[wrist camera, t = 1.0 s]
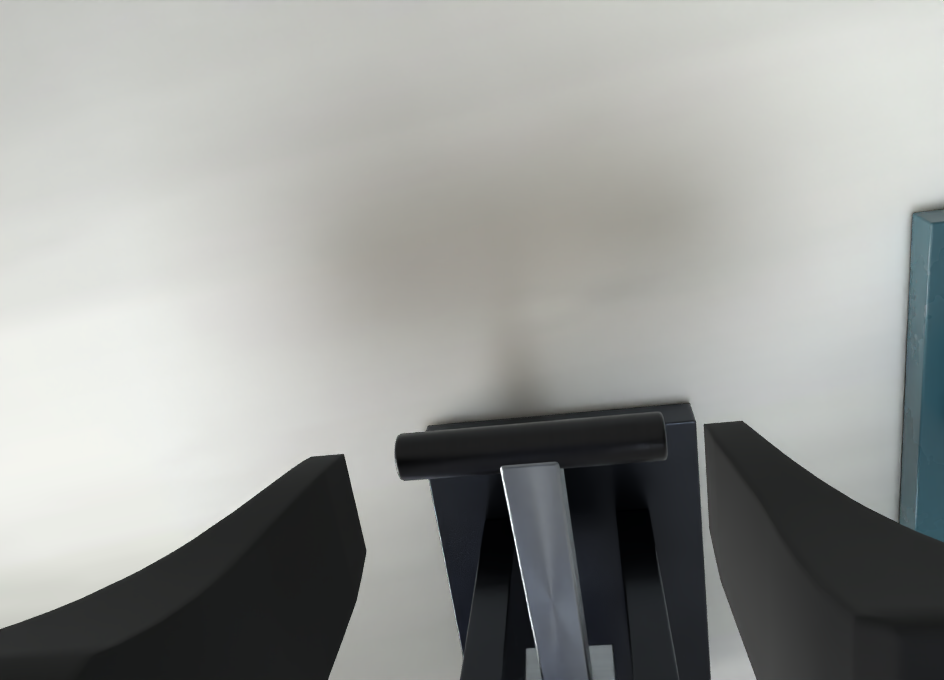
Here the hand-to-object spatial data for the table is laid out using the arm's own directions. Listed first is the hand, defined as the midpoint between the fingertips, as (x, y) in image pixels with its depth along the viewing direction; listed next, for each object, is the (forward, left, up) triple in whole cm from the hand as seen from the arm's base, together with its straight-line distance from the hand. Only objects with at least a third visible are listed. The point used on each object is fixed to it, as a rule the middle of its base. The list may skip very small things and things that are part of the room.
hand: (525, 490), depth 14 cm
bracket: (-9, 0, -10) cm, 14 cm away
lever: (-5, 0, -4) cm, 6 cm away
